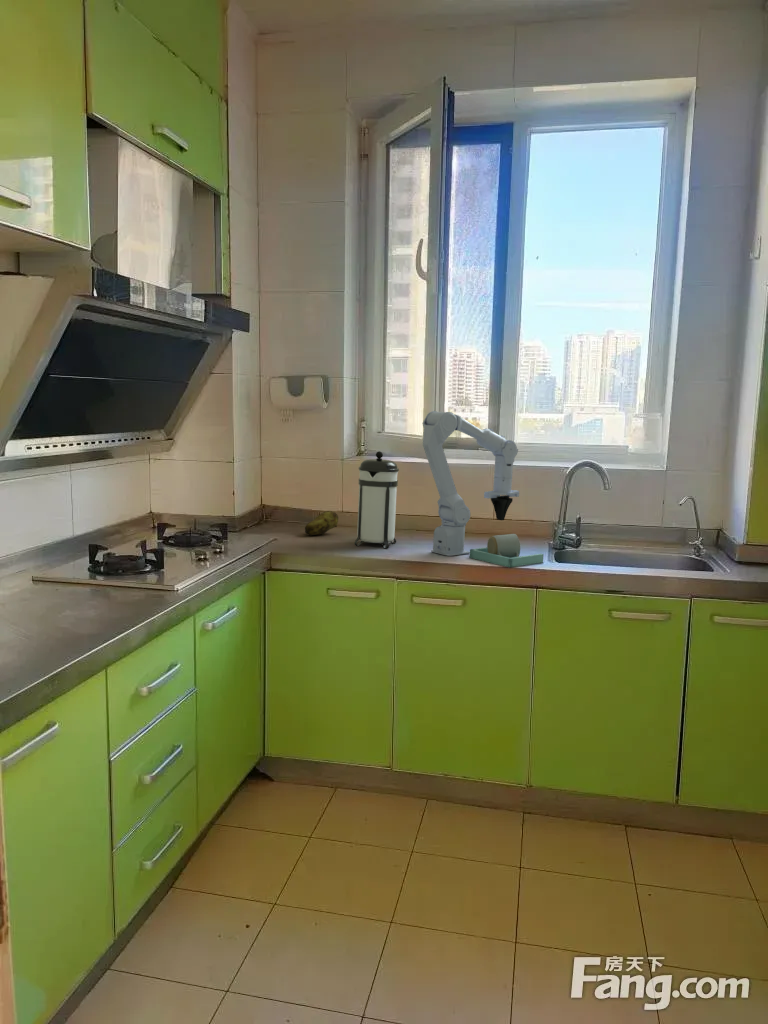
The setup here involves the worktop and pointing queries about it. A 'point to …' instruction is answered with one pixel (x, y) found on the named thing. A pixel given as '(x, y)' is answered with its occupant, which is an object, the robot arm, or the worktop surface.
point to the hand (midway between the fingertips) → (500, 519)
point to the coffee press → (377, 501)
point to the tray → (505, 558)
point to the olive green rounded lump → (322, 523)
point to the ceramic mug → (504, 545)
